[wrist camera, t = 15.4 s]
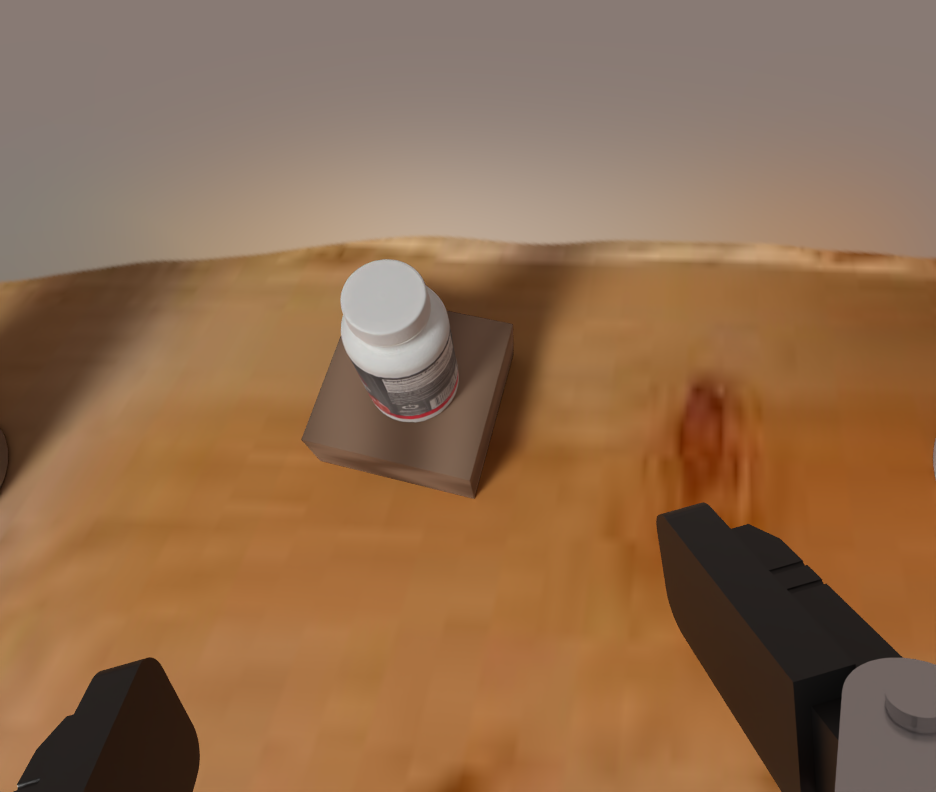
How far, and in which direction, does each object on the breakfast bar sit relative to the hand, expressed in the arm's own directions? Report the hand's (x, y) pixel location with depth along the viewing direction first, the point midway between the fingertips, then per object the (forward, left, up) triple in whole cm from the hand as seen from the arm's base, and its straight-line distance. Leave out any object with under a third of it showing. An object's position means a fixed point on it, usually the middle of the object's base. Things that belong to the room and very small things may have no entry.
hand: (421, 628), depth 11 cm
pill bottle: (-8, +14, -25) cm, 29 cm away
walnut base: (-8, +14, -29) cm, 33 cm away
